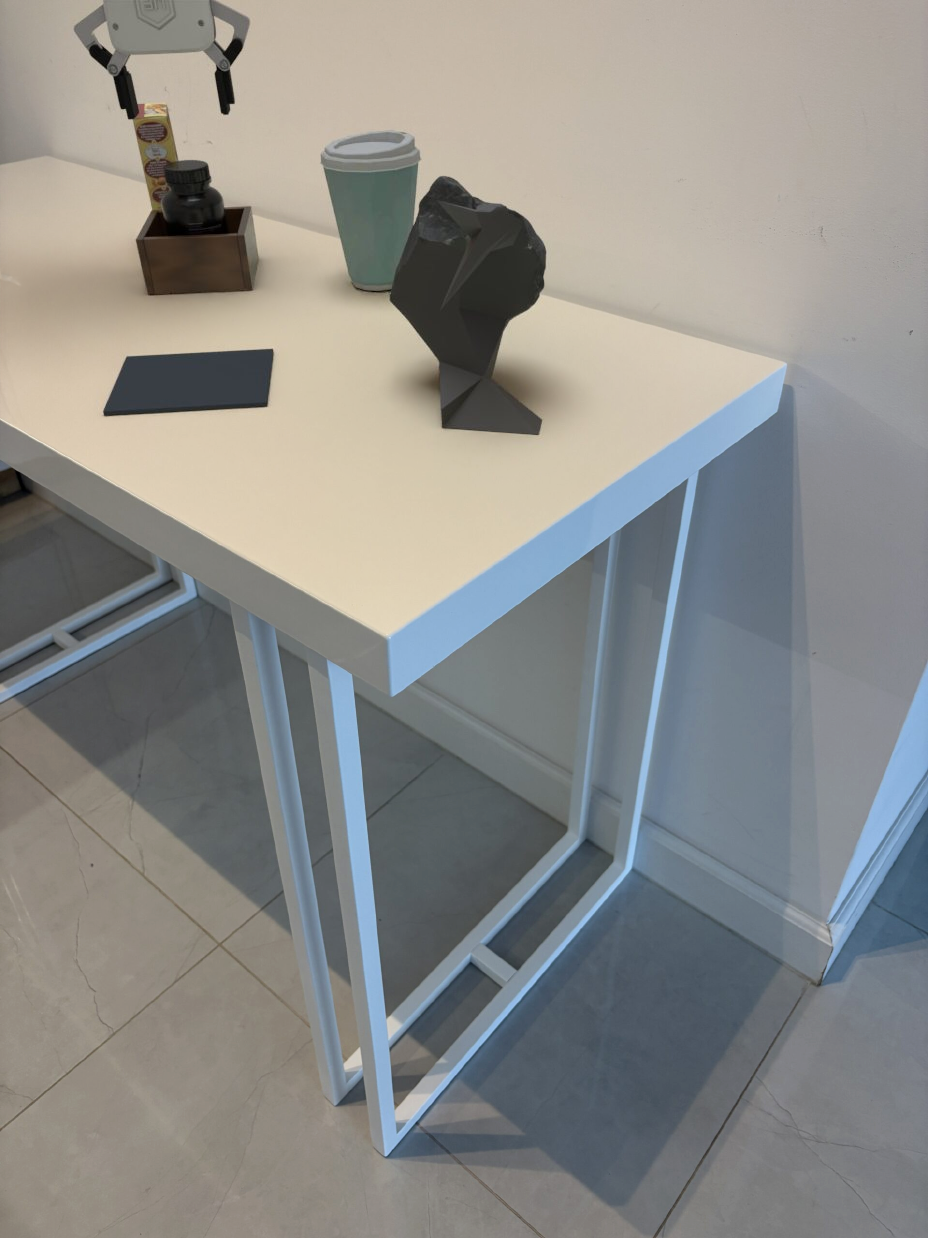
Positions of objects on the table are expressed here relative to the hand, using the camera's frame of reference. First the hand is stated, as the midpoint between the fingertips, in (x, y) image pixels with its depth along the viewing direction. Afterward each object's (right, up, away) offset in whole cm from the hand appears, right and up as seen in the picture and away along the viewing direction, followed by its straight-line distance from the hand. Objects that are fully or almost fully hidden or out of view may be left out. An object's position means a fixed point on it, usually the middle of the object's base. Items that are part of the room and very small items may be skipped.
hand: (180, 114), depth 99 cm
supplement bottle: (0, -13, +11) cm, 17 cm away
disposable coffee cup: (+20, -15, +8) cm, 26 cm away
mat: (+5, -32, -13) cm, 34 cm away
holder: (0, -13, +10) cm, 17 cm away
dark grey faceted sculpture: (+31, -33, -15) cm, 47 cm away
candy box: (-7, -6, +20) cm, 22 cm away
